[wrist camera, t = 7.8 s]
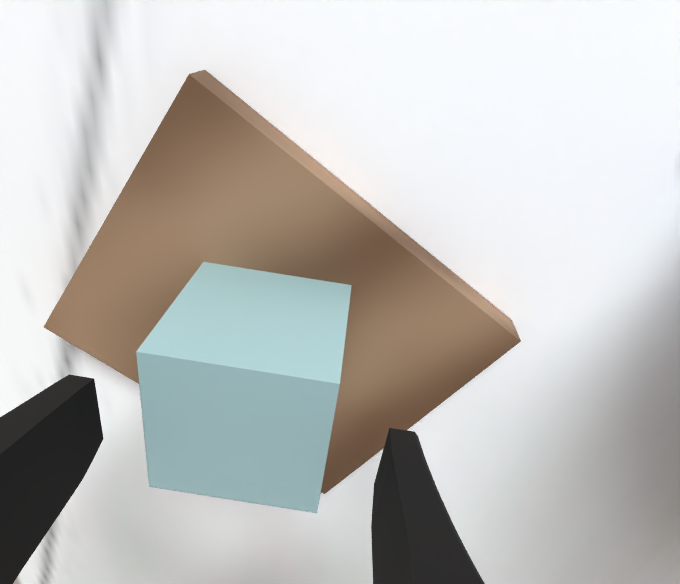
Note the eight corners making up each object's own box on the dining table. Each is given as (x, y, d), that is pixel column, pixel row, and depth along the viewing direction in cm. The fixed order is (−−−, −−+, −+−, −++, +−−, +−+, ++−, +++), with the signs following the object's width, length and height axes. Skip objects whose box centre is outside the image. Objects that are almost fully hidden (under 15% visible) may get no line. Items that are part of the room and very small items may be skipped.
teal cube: (351, 285, 14) (340, 383, 10) (332, 397, 17) (316, 513, 13) (203, 262, 14) (136, 351, 10) (204, 377, 17) (149, 486, 13)
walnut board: (511, 320, 16) (520, 341, 15) (327, 469, 20) (324, 493, 19) (205, 69, 13) (189, 74, 12) (64, 308, 17) (43, 327, 16)
